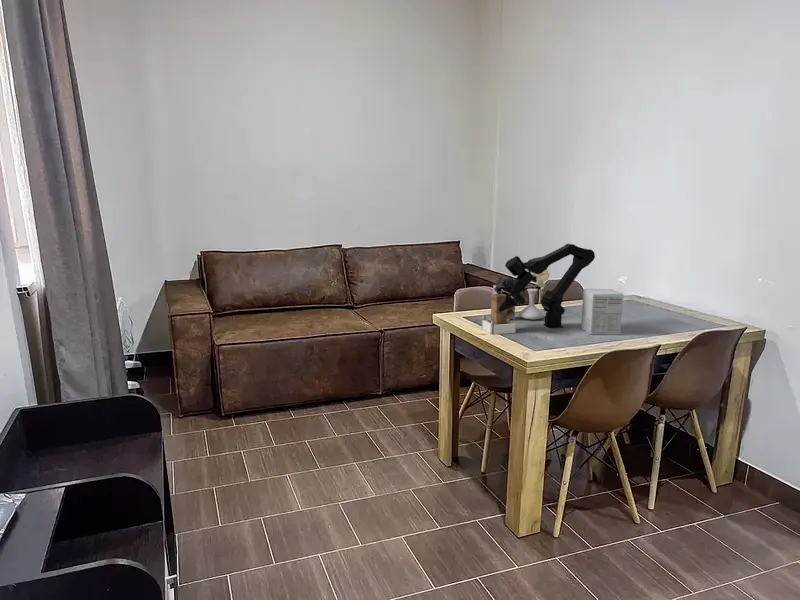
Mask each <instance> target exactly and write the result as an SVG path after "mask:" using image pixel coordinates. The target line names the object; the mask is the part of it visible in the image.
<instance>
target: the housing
mask: <svg viewBox="0 0 800 600" xmlns="http://www.w3.org/2000/svg"><path fill="white" fill-rule="evenodd" d="M481 316H482V318H481V329H482V328H483V329H482V330H484V331H485V330H486V331H485V332H487V333H488V332H489V333H488V334H490V335H504V334H505V335H506V334H516V328H517V327H516V326H517V325H516V323H515V322H512V320H507V324H498V325H494V320H491V318H489V319H486V318H487V317H486V316H487V315H486V314H485V315H484V314H483V315H481Z"/></svg>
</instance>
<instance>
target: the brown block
mask: <svg viewBox="0 0 800 600" xmlns="http://www.w3.org/2000/svg"><path fill="white" fill-rule="evenodd" d="M490 298H491V300H490V301H491V303H490V319H491V320H494V325H498V324H507V309H506V310H504V311H501V312H500V311H499V309H500V307H501V306H502V304H503V303H504V302H505V300H506V295H504V294H493V293H492V294H491V296H490Z"/></svg>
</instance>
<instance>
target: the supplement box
mask: <svg viewBox="0 0 800 600" xmlns="http://www.w3.org/2000/svg"><path fill="white" fill-rule="evenodd" d="M624 295H625V294H623V292H620V291H618V290H615V289H613V288H583V291H582V307H581V323H580V327H581V329H583V330H584V331H585V332H587V333H588V334H589V335H612V336H613V335H614V336H615V335H619V336H620V335H621V330H622V329H621V327H622V317H623V304H624Z"/></svg>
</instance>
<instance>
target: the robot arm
mask: <svg viewBox="0 0 800 600" xmlns="http://www.w3.org/2000/svg"><path fill="white" fill-rule="evenodd" d="M570 255H571V256H573V257H572V263H571V265H570V266H569V267H568V269H567V270H566V272H565V273H564V274H563V275H562V277H561V279H560V280H559V281H558V283H557V284H556V286H555V287H554V288H553V289H551V290H549V289H546V291H545V293H544V294H543V295H542V296H541V300H540V302H541V303H540V305H541V307H542V308H543V311H544V312H545V315H544V320H543V321H544V323H543V326H545V327H547V328H549V329H554V328H555V329H558V328H563V327H564V326H563V325H562V316H563V315H564V314H565V312H566V309H565V308H564V307H563V306H562V303H563V300H564V295H565V293H566V292H567V291H568V290H569V288H570V286H571V285H572V284H573V282H574V281H575V279H576V278H577V277H578V275H579V274H580V272H581V271H583V269H585V268H586V267H588V266H590V264H592V263H593V261H594V259H595V258H596V253H595V252H594V250H593V249H590V248H589V249H588V248H583V247H580V246H577V245H575V244H573V243H566V244H564V245H563V246H561V247H559V248H557V249H555V250H553V251H552V252H549V253H547V254H546V255H543V256H539V257H534V258H531V259H530V258H529V259H528V261H526V262H523V261H522V260H521V258H520V256H517V255H514V257H511V258H510V259H508V260H507V261H506V263H505V265H504V266H505V268H506V269H507V270H508V272H510V273H511V275H512V276H514V277H515V278H514V279H512V278H510V277H507V278H503V277H501V276H499V278H498V280H497V281H496V285H502V286H504V287H501V286H496V287H495V288H494V290H495V291H496V292H497V294H504V295H506V300H505V302H504V303H503V304H502V306H501V307H500V309H499V311H500V312H501V311H504V310H506V309H508V308H511V307H513V306H515V307H516V306H518V305H519V306H522V307H523V306H524V305H525V304H526V298H525V297H524V296H523V295H522V294H521V293H523V292H526V287H527V286H528V285H529V283H530V284H531V282H533V283H536V284H537V283H538V282H537V280H536V276H533V275H532V273H535V274H541V273H542V272H543V271H545V270H546V269H547V270H548V268H549V266H551V265H552V264H554V263H556V262H558V261H561V260H563V259H564V258H566V257H568V256H570ZM505 289H506V290H505Z"/></svg>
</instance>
